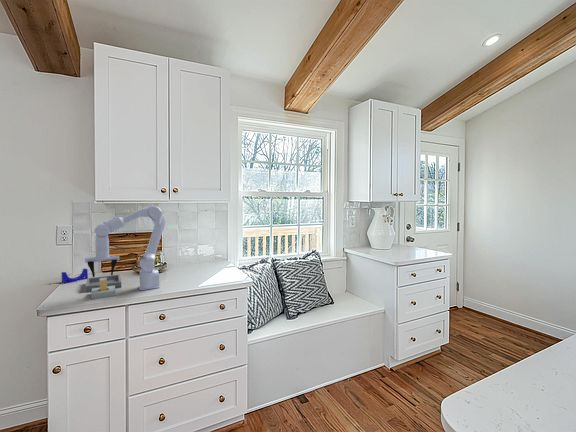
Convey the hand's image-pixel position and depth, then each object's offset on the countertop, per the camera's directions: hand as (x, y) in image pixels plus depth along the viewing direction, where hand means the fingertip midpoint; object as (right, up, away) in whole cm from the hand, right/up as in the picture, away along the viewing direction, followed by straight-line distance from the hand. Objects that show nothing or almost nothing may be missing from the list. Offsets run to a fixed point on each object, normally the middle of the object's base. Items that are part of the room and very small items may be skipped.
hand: (102, 275), depth 149 cm
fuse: (0, -10, +1) cm, 10 cm away
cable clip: (-32, -8, +25) cm, 41 cm away
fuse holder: (0, -10, +1) cm, 10 cm away
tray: (-9, -9, +16) cm, 20 cm away
